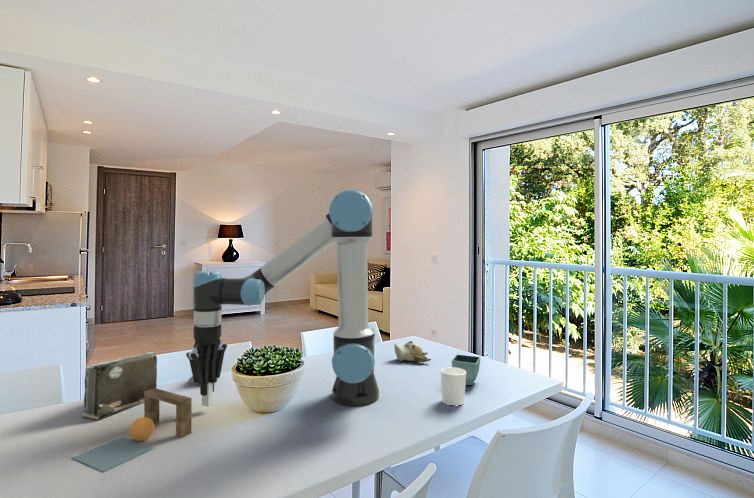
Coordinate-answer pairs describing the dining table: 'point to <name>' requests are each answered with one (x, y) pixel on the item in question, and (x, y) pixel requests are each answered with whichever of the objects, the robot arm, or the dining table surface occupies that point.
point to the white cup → (453, 385)
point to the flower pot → (467, 366)
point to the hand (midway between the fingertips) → (207, 404)
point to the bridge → (180, 401)
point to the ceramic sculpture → (410, 352)
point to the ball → (141, 429)
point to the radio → (118, 384)
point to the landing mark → (113, 453)
